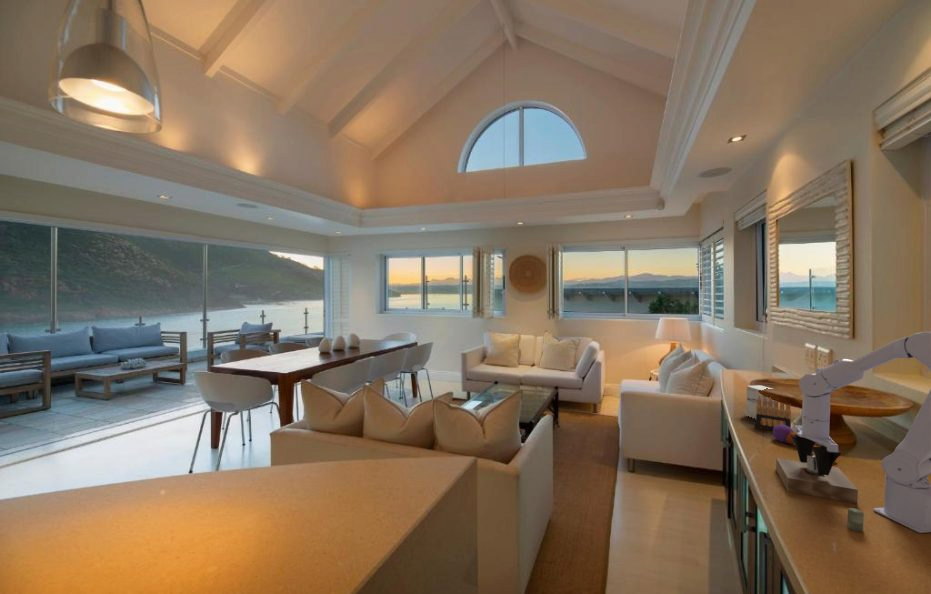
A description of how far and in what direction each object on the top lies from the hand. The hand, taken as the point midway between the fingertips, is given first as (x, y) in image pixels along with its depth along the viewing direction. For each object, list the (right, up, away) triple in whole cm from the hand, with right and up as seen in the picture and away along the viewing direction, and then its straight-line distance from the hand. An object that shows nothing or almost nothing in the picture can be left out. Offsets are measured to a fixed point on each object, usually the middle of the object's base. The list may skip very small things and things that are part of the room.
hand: (813, 468), depth 114 cm
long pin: (0, -5, 0) cm, 5 cm away
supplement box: (+26, -3, +57) cm, 63 cm away
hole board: (0, -5, 0) cm, 5 cm away
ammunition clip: (+21, -4, +44) cm, 49 cm away
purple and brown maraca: (+17, -4, +25) cm, 31 cm away
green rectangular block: (-7, -5, -20) cm, 22 cm away
